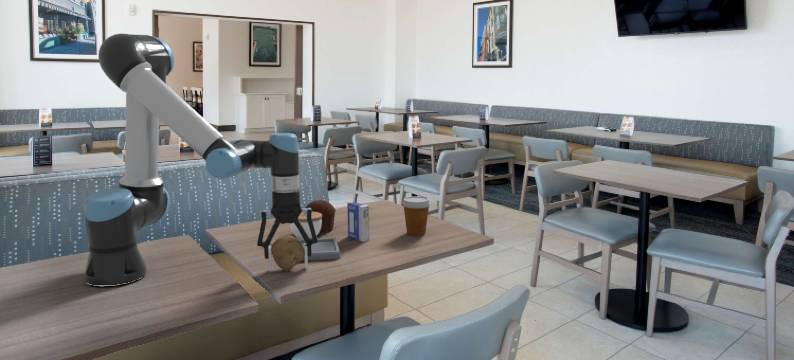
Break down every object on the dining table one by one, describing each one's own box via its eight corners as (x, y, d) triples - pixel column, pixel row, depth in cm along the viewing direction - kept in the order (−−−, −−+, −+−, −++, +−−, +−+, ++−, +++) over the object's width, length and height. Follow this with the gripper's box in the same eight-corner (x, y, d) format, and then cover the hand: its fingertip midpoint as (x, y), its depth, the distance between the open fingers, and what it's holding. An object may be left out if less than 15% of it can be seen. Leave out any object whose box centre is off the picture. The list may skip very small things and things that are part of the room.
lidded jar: (293, 243, 188) (292, 215, 187) (286, 235, 198) (286, 208, 196) (326, 240, 192) (325, 212, 191) (317, 232, 202) (317, 205, 200)
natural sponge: (294, 262, 171) (293, 229, 169) (311, 270, 165) (310, 236, 163) (266, 269, 165) (265, 235, 163) (283, 278, 159) (281, 242, 157)
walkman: (347, 237, 196) (347, 202, 194) (354, 235, 198) (353, 200, 196) (362, 242, 191) (362, 206, 188) (369, 240, 192) (369, 204, 190)
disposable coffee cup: (419, 239, 194) (419, 203, 191) (396, 234, 199) (396, 199, 197) (435, 232, 201) (435, 198, 199) (412, 228, 207) (413, 194, 204)
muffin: (297, 229, 205) (295, 201, 203) (323, 222, 213) (321, 195, 210) (317, 236, 197) (315, 207, 194) (343, 229, 204) (342, 201, 202)
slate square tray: (292, 261, 172) (291, 254, 172) (291, 247, 185) (291, 240, 185) (339, 258, 175) (339, 251, 174) (335, 244, 188) (335, 237, 188)
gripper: (243, 194, 155) (247, 275, 159) (326, 191, 159) (328, 270, 163) (245, 188, 162) (249, 266, 167) (324, 185, 166) (326, 261, 171)
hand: (288, 268), depth 165 cm, fingers closed on natural sponge, 9 cm apart
